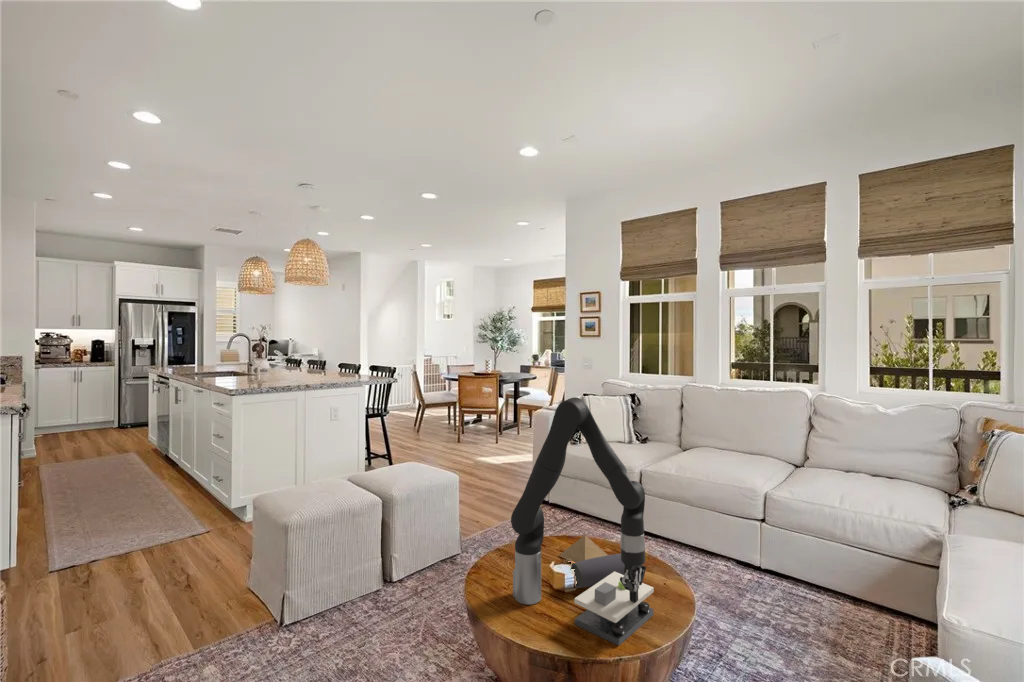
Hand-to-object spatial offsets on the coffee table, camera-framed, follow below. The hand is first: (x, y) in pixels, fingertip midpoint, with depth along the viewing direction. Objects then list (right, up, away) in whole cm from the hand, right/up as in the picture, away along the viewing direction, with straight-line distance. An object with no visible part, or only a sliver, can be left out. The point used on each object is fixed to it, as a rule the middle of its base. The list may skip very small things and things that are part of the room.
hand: (633, 601), depth 159 cm
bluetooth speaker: (-5, -8, +28) cm, 30 cm away
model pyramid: (-9, -8, +49) cm, 50 cm away
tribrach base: (-5, -9, +5) cm, 11 cm away
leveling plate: (-5, -2, +5) cm, 7 cm away
